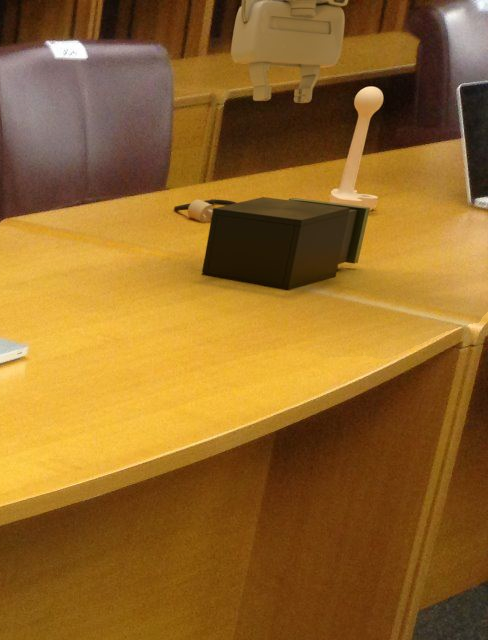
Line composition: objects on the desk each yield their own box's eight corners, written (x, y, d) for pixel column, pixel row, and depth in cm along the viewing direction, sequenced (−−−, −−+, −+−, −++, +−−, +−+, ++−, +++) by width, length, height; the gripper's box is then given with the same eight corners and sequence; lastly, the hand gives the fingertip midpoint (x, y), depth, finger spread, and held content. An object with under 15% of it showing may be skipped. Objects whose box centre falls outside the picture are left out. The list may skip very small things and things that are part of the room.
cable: (147, 206, 265) (151, 186, 264) (229, 205, 269) (233, 185, 267) (200, 225, 252) (204, 204, 250) (285, 223, 256) (290, 202, 254)
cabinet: (250, 264, 225) (263, 196, 221) (335, 277, 217) (350, 207, 212) (200, 278, 216) (213, 208, 212) (287, 292, 208) (301, 220, 204)
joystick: (326, 200, 274) (355, 82, 265) (371, 204, 272) (402, 85, 262) (330, 211, 265) (360, 89, 255) (377, 215, 262) (410, 92, 253)
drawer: (295, 247, 232) (305, 194, 228) (370, 258, 224) (383, 203, 221) (237, 263, 221) (248, 208, 218) (315, 275, 213) (327, 218, 210)
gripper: (267, -19, 195) (258, 96, 198) (356, -8, 206) (346, 101, 209) (223, -11, 200) (214, 101, 203) (312, -1, 211) (303, 105, 214)
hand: (282, 101), depth 206 cm, fingers open, 8 cm apart
